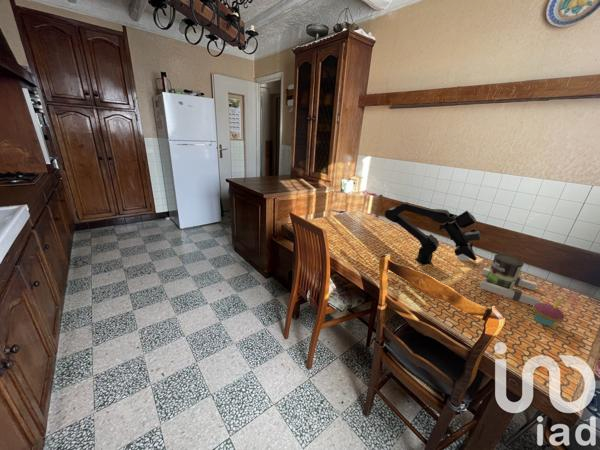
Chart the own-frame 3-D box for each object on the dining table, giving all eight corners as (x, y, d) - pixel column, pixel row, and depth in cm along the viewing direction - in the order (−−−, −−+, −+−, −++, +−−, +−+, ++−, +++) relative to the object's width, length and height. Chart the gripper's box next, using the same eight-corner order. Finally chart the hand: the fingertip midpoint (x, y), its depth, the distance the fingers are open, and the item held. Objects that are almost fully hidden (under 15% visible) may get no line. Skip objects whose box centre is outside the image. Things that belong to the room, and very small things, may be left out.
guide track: (479, 288, 112) (481, 280, 110) (482, 272, 125) (484, 265, 123) (537, 307, 100) (541, 299, 99) (534, 288, 113) (537, 281, 112)
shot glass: (471, 262, 134) (475, 251, 132) (458, 261, 136) (461, 249, 133) (466, 256, 141) (469, 246, 138) (453, 255, 142) (456, 244, 139)
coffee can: (497, 292, 109) (508, 265, 104) (479, 279, 119) (489, 253, 113) (518, 292, 110) (530, 264, 105) (499, 279, 119) (509, 253, 114)
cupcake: (550, 317, 95) (563, 291, 91) (564, 333, 87) (579, 305, 83) (524, 311, 98) (535, 286, 93) (535, 326, 90) (548, 299, 86)
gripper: (469, 230, 108) (492, 260, 105) (474, 219, 121) (494, 246, 119) (445, 241, 115) (466, 269, 113) (452, 230, 129) (471, 255, 126)
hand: (475, 259), depth 117 cm, fingers closed
